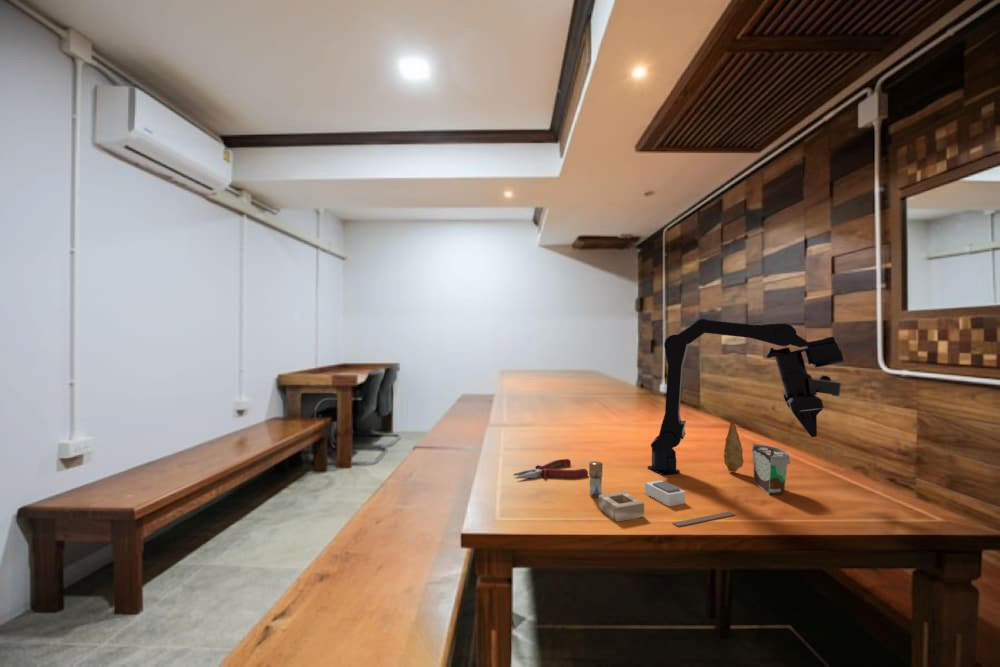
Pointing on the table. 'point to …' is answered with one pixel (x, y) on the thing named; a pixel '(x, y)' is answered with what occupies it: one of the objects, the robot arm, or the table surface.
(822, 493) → the table surface
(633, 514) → the socket block
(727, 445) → the stone tool
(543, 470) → the pliers
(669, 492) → the stud finder
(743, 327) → the robot arm
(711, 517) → the bar
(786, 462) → the food container
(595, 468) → the flashlight
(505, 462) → the table surface
